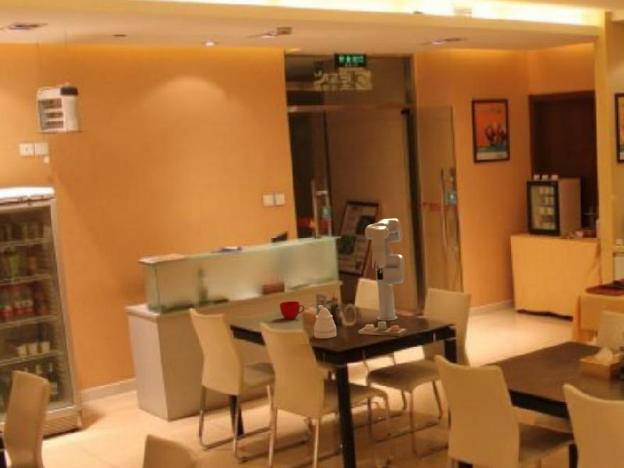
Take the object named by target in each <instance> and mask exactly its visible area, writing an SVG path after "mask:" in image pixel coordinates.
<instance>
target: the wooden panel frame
mask: <svg viewBox="0 0 624 468" xmlns="http://www.w3.org/2000/svg"><path fill="white" fill-rule="evenodd" d="M407 331H408V330H407V328H399V331H398V332H394V331H391V327H386V330H378V326H377V327H376V326H374V330H366V326H364V327H362V328H360V329H359V330H358V332H357V333H358V335H373V336H374V335H375V336H389V335H390V336H391V337H394V336H395V337H401V336H403V335H404V334H406V333H407Z"/></svg>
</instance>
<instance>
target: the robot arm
mask: <svg viewBox="0 0 624 468" xmlns="http://www.w3.org/2000/svg"><path fill="white" fill-rule="evenodd" d="M364 236H365V238H366V239H367V240H371V247H372V249H371V252H372V253H371V255H372V256H371V265H372V267H371V268H372V269H374V271H375V279H376V283H377V289H378V290H377V292H378V293H377V294H378V309H379V313H378V314H379V316H377V317H376V318H377V320H378V321H381V322H389V321H395V320H397V319H398V316H397V315H396V313H397V310H395V309H396V308H395V294H394V292H395V291H394V289H393V288H392V286H391V285H394V284H395V285H398V284H403V282H404V281H405V258H404V256H403V255H401V254H394V250H393V248H392V246H390V245H389V244H388V243H400V242H402V240H403V237H404V235H403V229H402V225H401V222H400V220H399V219H398V218H383V219H379V220H378V221H377V222H375V223H373V224H369V225H367V226H366V227H365V230H364Z"/></svg>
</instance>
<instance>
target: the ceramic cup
mask: <svg viewBox="0 0 624 468" xmlns="http://www.w3.org/2000/svg"><path fill="white" fill-rule="evenodd" d="M300 303H301V302H300V301H296V300H295V301H284V302H280V303H279V309H280V312H281V313H280V314H281V315H282V316H283V318H284V319H285V320H294V319H296V318H297V316H299V314H301V313H303V312H304V311H305V306H304V305H303V304H301V305H300ZM301 307H302V310H301V311H300V308H301Z"/></svg>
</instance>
